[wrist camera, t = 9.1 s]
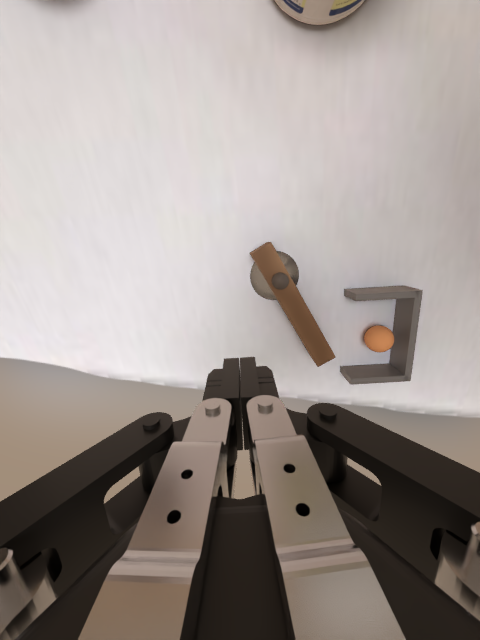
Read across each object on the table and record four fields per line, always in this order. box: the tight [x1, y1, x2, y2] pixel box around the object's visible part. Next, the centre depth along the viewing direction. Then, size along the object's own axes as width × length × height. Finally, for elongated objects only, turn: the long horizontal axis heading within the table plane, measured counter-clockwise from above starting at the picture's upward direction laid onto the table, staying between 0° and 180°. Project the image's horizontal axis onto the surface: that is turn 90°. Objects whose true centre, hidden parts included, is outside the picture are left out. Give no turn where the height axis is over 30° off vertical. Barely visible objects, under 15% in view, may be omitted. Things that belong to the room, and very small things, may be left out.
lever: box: [250, 242, 335, 367], centre depth 32 cm, size 2×16×5 cm, turn 32°
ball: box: [364, 326, 394, 352], centre depth 34 cm, size 3×3×3 cm
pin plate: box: [250, 251, 299, 300], centre depth 33 cm, size 6×6×1 cm
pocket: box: [340, 286, 423, 384], centre depth 34 cm, size 8×12×4 cm, turn 3°
